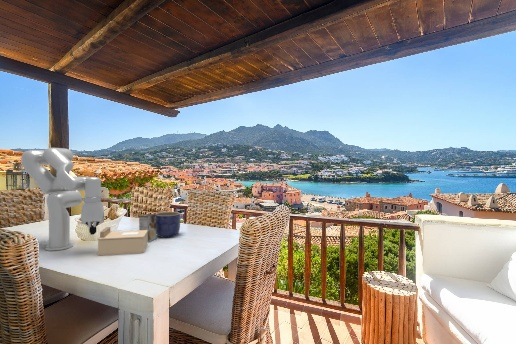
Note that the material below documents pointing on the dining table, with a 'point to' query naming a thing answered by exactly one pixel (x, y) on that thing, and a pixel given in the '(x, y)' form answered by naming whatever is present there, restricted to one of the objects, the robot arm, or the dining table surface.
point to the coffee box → (148, 225)
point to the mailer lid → (121, 234)
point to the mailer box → (122, 246)
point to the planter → (167, 224)
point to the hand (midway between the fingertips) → (92, 233)
